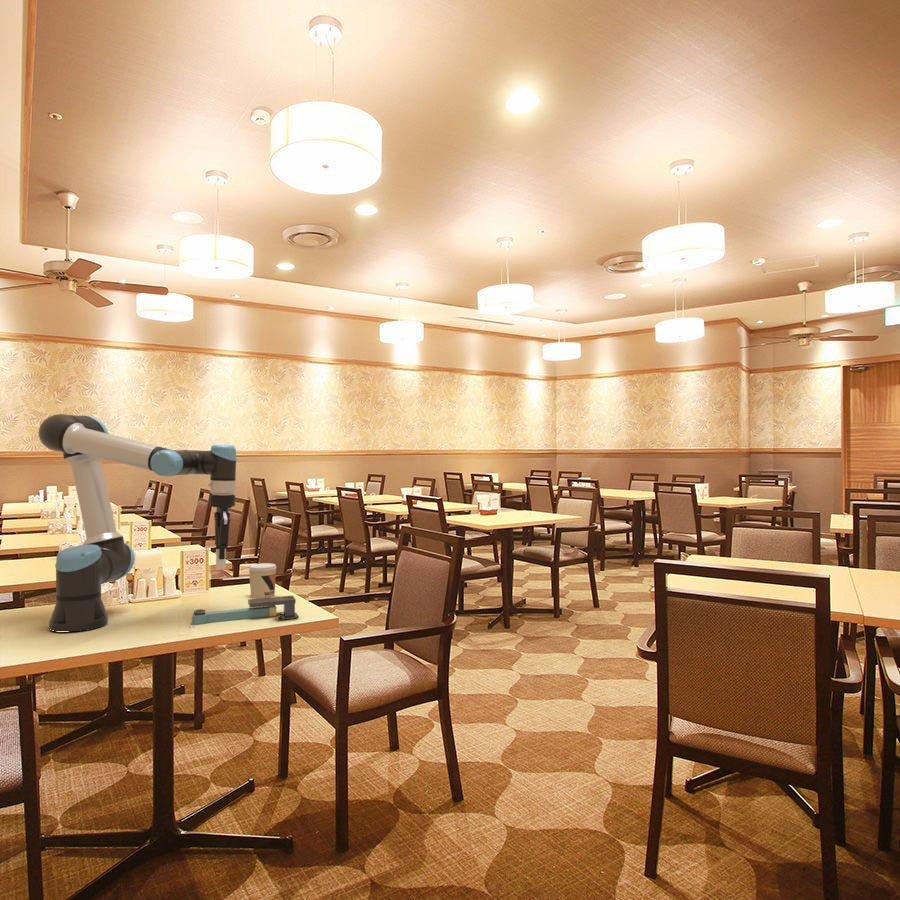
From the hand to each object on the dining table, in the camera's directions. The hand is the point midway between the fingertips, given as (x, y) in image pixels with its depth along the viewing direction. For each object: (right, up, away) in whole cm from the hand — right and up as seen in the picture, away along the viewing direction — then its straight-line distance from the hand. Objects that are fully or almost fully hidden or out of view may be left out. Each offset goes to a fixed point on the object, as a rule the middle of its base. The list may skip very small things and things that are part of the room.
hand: (220, 569), depth 201 cm
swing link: (+7, -14, -7) cm, 17 cm away
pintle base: (-2, -15, -11) cm, 19 cm away
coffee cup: (+6, -15, +24) cm, 29 cm away
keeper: (+17, -15, -3) cm, 23 cm away
